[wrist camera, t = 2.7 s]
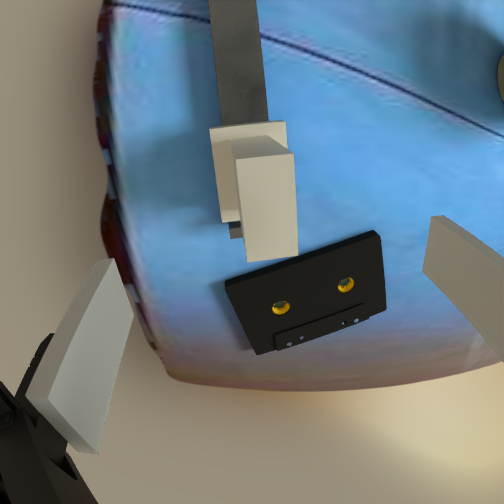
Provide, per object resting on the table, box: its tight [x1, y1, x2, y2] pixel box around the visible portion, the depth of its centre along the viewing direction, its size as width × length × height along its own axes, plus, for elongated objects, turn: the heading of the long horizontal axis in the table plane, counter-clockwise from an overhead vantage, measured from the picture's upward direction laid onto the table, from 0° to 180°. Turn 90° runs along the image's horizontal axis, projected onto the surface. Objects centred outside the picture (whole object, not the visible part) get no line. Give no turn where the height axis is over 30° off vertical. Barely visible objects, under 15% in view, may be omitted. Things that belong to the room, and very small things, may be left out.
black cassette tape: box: [225, 230, 387, 355], centre depth 36 cm, size 18×12×2 cm, turn 108°
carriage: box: [209, 120, 298, 262], centre depth 21 cm, size 8×6×11 cm
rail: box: [208, 0, 269, 239], centre depth 24 cm, size 24×5×4 cm, turn 5°
